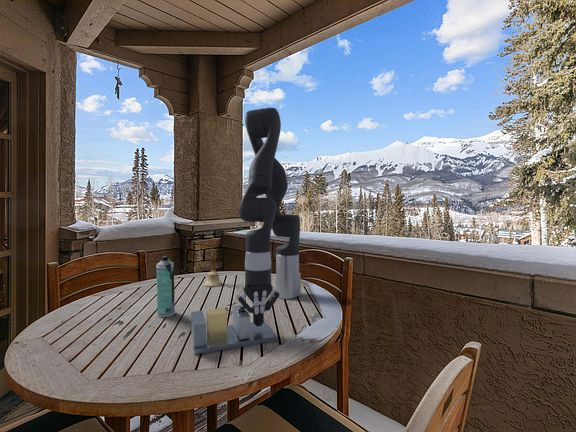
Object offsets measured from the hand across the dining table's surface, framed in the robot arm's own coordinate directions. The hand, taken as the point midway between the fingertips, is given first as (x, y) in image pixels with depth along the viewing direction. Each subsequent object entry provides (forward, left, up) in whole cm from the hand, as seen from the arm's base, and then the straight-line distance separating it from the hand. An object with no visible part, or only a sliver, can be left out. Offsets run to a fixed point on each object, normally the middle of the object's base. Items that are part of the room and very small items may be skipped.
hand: (258, 325), depth 89 cm
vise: (+7, 0, -3) cm, 8 cm away
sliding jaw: (+5, 0, -1) cm, 5 cm away
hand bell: (+5, -58, -3) cm, 58 cm away
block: (+12, 0, -1) cm, 12 cm away
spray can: (+25, -26, -3) cm, 37 cm away
